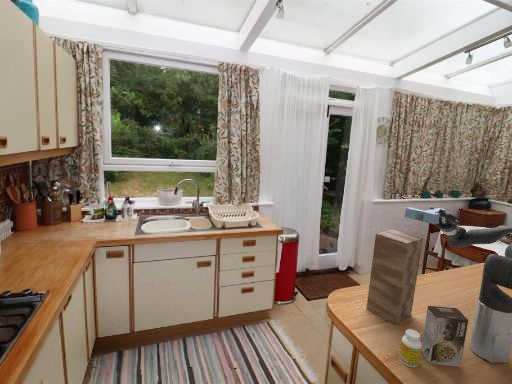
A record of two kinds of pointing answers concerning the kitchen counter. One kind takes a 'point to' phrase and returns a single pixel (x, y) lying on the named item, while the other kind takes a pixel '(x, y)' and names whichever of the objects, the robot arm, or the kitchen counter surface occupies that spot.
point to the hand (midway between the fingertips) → (435, 210)
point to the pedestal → (394, 275)
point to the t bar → (424, 215)
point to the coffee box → (444, 336)
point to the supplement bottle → (410, 348)
